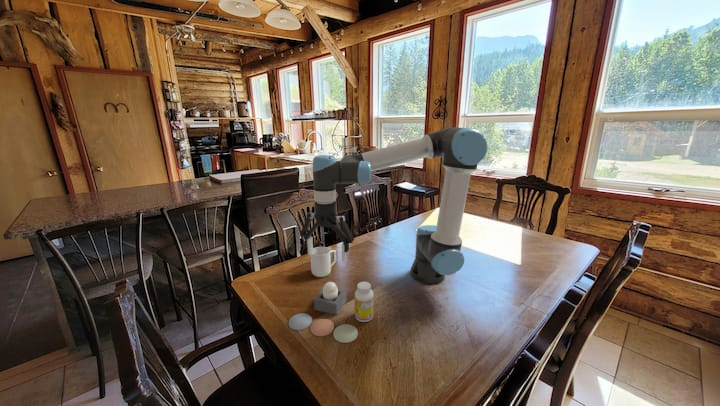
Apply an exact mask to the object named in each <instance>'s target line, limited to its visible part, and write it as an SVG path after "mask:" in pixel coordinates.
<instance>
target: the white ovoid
mask: <svg viewBox="0 0 720 406" xmlns="http://www.w3.org/2000/svg"><path fill="white" fill-rule="evenodd" d="M322 289H323V299H326V300H331V301H335V300H336V299H337V297H338V289H339V288H338V286H337V284H336V282H333V281H328V282H326V283H324V285H323V287H322Z"/></svg>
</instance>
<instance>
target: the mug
mask: <svg viewBox="0 0 720 406" xmlns="http://www.w3.org/2000/svg"><path fill="white" fill-rule="evenodd" d="M332 253H333V256H334V258H333V261H332V262H331V254H332ZM309 257H310V270H311V274H312V275H313V276H314V277H316V278H323V277H325V278H326V277H327V276H328V275H329V274H331V272H332V267H333V266H334V264H336V262H337V250H336V249H331V248H329V247H326V246H317V247H313V253H312V254H311V255H310V256H309Z"/></svg>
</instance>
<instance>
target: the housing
mask: <svg viewBox="0 0 720 406" xmlns="http://www.w3.org/2000/svg"><path fill="white" fill-rule="evenodd" d="M346 302H347V290H345V289H341V288H340V289H339V288H338V297H337V299H336V300H335V301H331V300H326V299H323V288H321V290H320V292H318V294H317V295H316V296H315V297H314V299H313V307H314V311H318V312H322V313H326V314H331V315H335V316H338V314H339V312H340V311H341V309H342V308H343V306H344V305H345V303H346Z"/></svg>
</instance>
